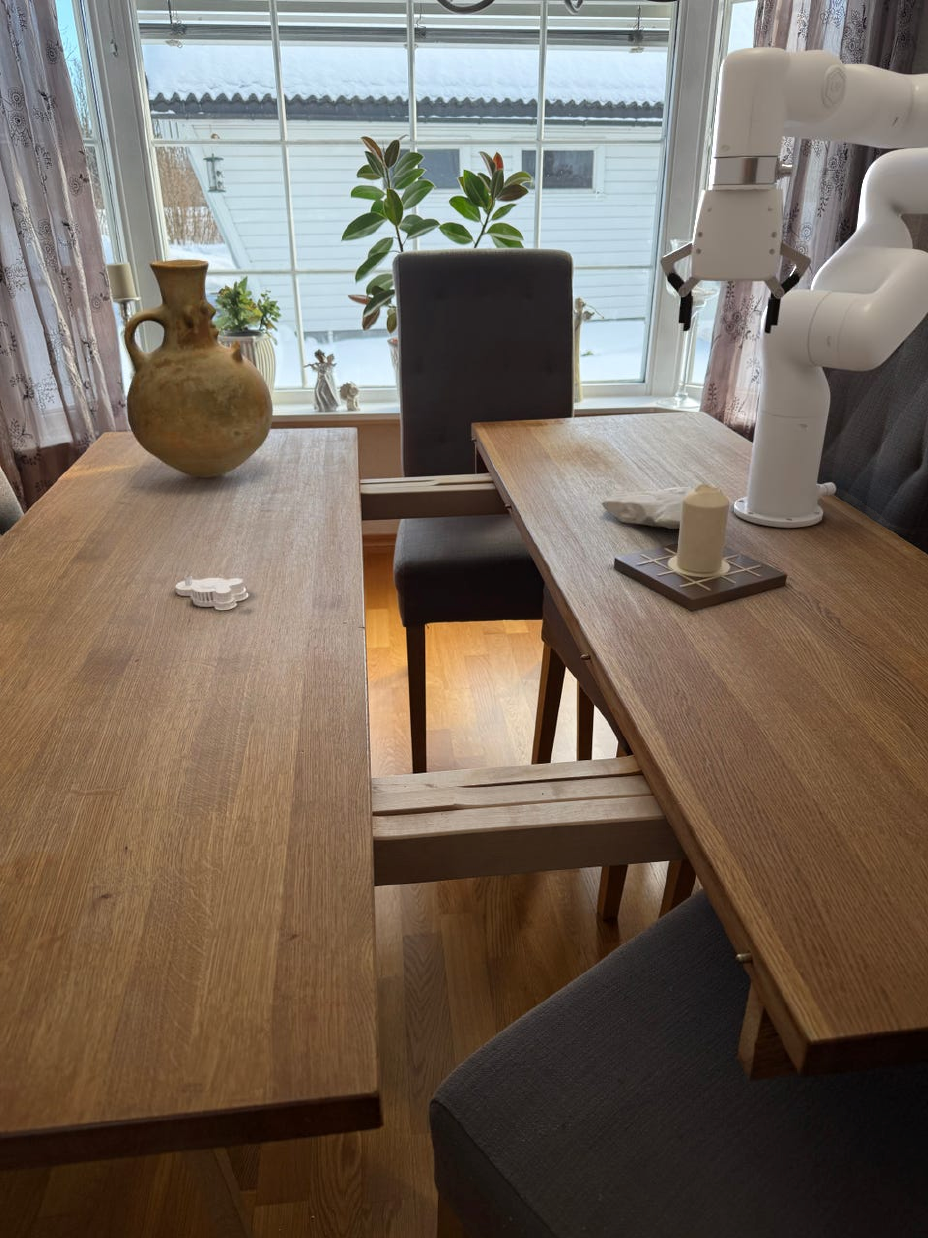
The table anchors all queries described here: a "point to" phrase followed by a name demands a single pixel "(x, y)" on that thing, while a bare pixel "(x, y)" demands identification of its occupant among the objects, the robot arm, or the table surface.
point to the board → (699, 576)
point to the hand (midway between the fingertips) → (726, 330)
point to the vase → (194, 382)
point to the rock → (648, 506)
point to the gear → (213, 591)
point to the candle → (702, 529)
